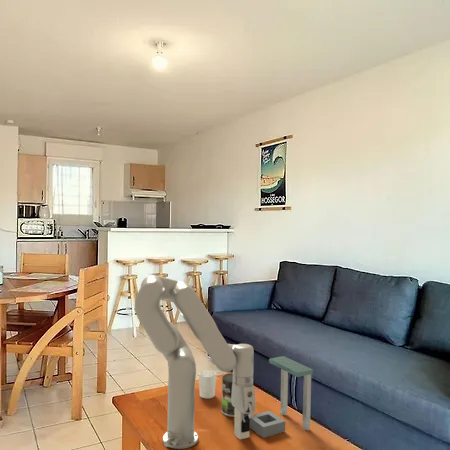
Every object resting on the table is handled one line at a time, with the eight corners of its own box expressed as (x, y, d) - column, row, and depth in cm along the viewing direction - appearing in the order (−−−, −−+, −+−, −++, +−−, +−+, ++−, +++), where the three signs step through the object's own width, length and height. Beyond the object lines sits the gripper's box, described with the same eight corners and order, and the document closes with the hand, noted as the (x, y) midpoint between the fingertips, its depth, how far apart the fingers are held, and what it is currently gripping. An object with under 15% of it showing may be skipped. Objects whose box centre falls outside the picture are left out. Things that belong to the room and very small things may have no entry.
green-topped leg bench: (296, 435, 159) (297, 372, 158) (267, 415, 174) (269, 358, 174) (311, 430, 162) (313, 369, 162) (282, 411, 178) (283, 356, 178)
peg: (239, 439, 155) (240, 411, 155) (234, 434, 158) (234, 407, 158) (249, 437, 157) (249, 409, 157) (243, 432, 160) (243, 405, 160)
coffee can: (228, 419, 171) (229, 383, 170) (217, 408, 180) (217, 375, 180) (251, 414, 175) (251, 379, 175) (238, 404, 184) (239, 371, 184)
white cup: (195, 393, 195) (196, 371, 195) (211, 391, 198) (212, 369, 198) (202, 400, 188) (202, 377, 188) (218, 397, 191) (219, 375, 191)
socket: (263, 438, 156) (263, 427, 156) (248, 426, 165) (248, 415, 165) (285, 431, 161) (285, 421, 161) (269, 420, 170) (269, 410, 170)
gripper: (264, 385, 152) (263, 436, 152) (239, 370, 166) (238, 417, 167) (246, 388, 148) (245, 441, 148) (222, 373, 163) (221, 421, 163)
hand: (241, 428), depth 157 cm, fingers closed on peg, 4 cm apart
